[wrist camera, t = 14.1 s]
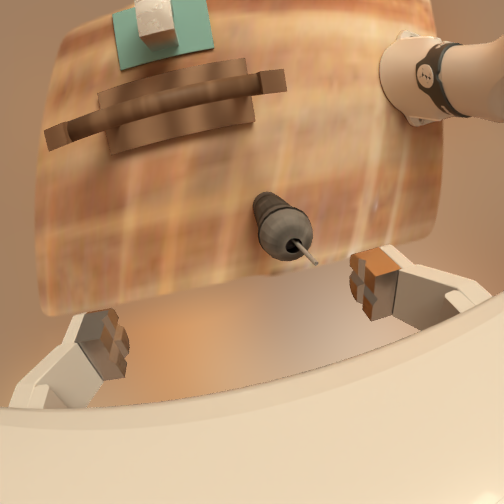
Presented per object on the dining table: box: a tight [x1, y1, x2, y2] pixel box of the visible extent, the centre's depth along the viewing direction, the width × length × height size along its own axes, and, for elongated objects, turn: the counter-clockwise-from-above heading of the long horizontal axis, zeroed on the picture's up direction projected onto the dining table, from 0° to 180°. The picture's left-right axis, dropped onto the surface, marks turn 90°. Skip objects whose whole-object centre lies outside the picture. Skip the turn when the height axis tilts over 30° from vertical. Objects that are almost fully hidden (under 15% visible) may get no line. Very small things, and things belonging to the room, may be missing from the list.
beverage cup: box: [253, 192, 318, 266], centre depth 42 cm, size 7×7×20 cm
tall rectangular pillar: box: [134, 0, 179, 52], centre depth 29 cm, size 4×7×11 cm, turn 8°
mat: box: [112, 0, 214, 70], centre depth 34 cm, size 14×10×1 cm
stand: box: [44, 58, 287, 155], centre depth 31 cm, size 22×10×22 cm, turn 98°
